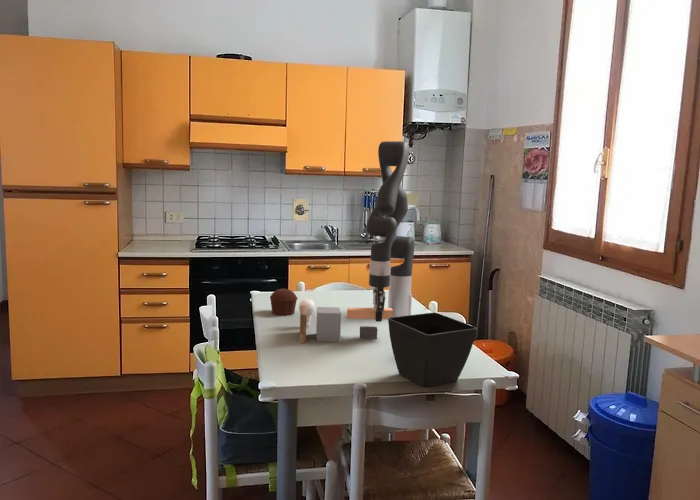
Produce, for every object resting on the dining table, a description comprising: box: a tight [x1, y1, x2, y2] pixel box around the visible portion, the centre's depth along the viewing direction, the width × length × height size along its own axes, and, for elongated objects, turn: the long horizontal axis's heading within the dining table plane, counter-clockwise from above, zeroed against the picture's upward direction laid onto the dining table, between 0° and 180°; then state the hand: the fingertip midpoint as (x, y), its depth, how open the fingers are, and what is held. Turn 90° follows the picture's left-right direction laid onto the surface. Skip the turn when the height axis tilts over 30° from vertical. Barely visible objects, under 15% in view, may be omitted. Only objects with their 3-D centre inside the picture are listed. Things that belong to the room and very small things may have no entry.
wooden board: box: [299, 305, 307, 344], centre depth 209 cm, size 2×14×10 cm, turn 6°
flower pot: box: [387, 312, 478, 388], centre depth 173 cm, size 19×19×17 cm
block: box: [315, 306, 342, 342], centre depth 210 cm, size 8×9×10 cm
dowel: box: [346, 307, 393, 320], centre depth 211 cm, size 16×3×3 cm, turn 95°
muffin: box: [269, 288, 298, 317], centre depth 242 cm, size 12×11×10 cm
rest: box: [359, 325, 378, 340], centre depth 212 cm, size 6×3×4 cm, turn 95°
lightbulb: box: [298, 298, 316, 328], centre depth 222 cm, size 6×6×11 cm
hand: (377, 319), depth 212 cm, fingers closed on dowel, 3 cm apart
